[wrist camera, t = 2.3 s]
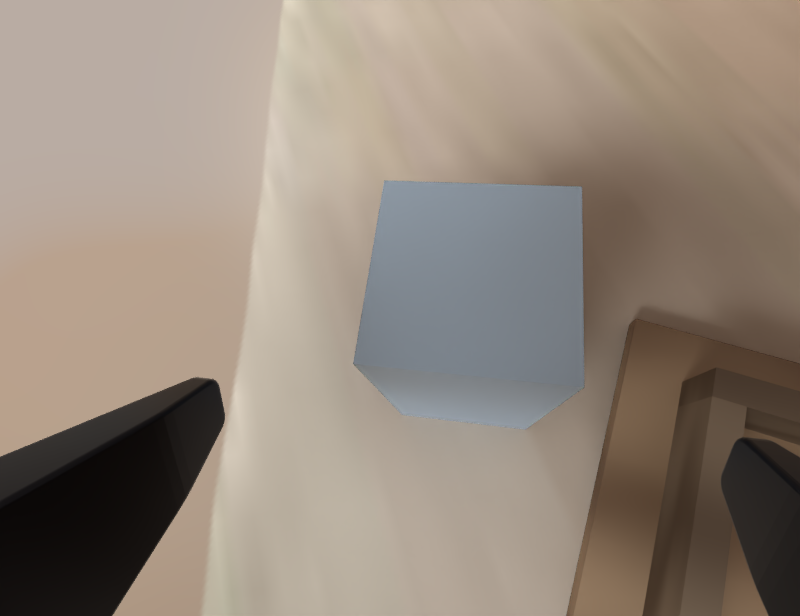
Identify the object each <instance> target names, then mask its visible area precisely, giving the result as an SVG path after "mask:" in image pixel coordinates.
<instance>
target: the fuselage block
mask: <svg viewBox="0 0 800 616" xmlns="http://www.w3.org/2000/svg"><path fill="white" fill-rule="evenodd" d="M353 364H354V365H355V366H356V367H357V368H358V369H359V370H360V371H361V372H362V374H363V375H364V376H365V377H366V378H367V379H368V380H369V381H370V382H371V383H372V384H373V385H374V386H375V387H376V388H377V389H378V390H379V391H380V392H381V393H382V394H383V395H384V397H385V398H386V399H387V400H388V401H389V402H390V403H391V404H392V405H393V406H394V407H395V408H396V409H397V410H398V411H399V412H400V413H401V414H402V415H408V416H416V417H425V418H433V419H442V420H450V421H458V422H467V423H475V424H484V425H492V426H500V427H509V428H517V429H527V428H528V427H530V426H531V425H532V424H534V423H535V422H537V421H538V420H539V419H541V418H542V417H544V416H545V415H546V414H548V413H549V412H551V411H552V410H553V409H555V408H556V407H558V406H559V405H560V404H562V403H563V402H565V401H566V400H567V399H569V398H570V397H572V396H573V395H574V394H576V393H577V392H579V391H580V390H581V389H583V388H584V315H583V230H582V187H579V186H546V185H513V184H480V183H447V182H414V181H384V186H383V192H382V198H381V203H380V209H379V215H378V221H377V227H376V233H375V239H374V245H373V251H372V257H371V263H370V268H369V274H368V280H367V286H366V292H365V298H364V304H363V310H362V316H361V322H360V327H359V333H358V339H357V345H356V351H355V357H354V363H353Z"/></svg>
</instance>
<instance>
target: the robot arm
mask: <svg viewBox="0 0 800 616" xmlns="http://www.w3.org/2000/svg"><path fill="white" fill-rule="evenodd" d="M224 420H225V412H224V407H223V402H222V398H221V393H220V388H219V385H218V383H217V382H216V381H215V380H214V379H208V378H199V377H196V378H191V379H189V380H187V381H184V382H182V383H179V384H177V385H174V386H172V387H169V388H167V389H165V390H162V391H160V392H157V393H155V394H153V395H150V396H148V397H145V398H142V399H140V400H138V401H135V402H133V403H130V404H128V405H125V406H123V407H121V408H118V409H116V410H113V411H111V412H109V413H106V414H104V415H101V416H98V417H96V418H94V419H91V420H89V421H86V422H84V423H81V424H79V425H77V426H74V427H72V428H70V429H67V430H64V431H62V432H60V433H57V434H55V435H52V436H50V437H47V438H45V439H42V440H40V441H38V442H35V443H33V444H30V445H28V446H25V447H23V448H20V449H18V450H16V451H13V452H11V453H8V454H6V455H3V456H1V457H0V616H112V615H113V614H114V612H115V611H116V609H117V607H118V606H119V604H120V603H121V601H122V600H123V598H124V597H125V595H126V593H127V592H128V590H129V589H130V587H131V585H132V584H133V582H134V581H135V579H136V578H137V576H138V574H139V573H140V571H141V570H142V568H143V566H144V565H145V563H146V562H147V560H148V558H149V557H150V555H151V554H152V552H153V551H154V549H155V547H156V546H157V544H158V543H159V541H160V540H161V538H162V536H163V535H164V533H165V532H166V530H167V528H168V527H169V525H170V524H171V522H172V521H173V519H174V517H175V516H176V514H177V513H178V511H179V509H180V508H181V506H182V504H183V503H184V501H185V499H186V498H187V496H188V494H189V492H190V490H191V489H192V487H193V485H194V483H195V481H196V479H197V477H198V475H199V473H200V471H201V469H202V467H203V465H204V463H205V461H206V459H207V457H208V455H209V453H210V451H211V449H212V447H213V445H214V443H215V441H216V439H217V437H218V435H219V433H220V431H221V429H222V427H223V424H224ZM721 489H722V493H723V496H724V499H725V501H726V504H727V507H728V510H729V513H730V516H731V519H732V522H733V525H734V527H735V530H736V533H737V536H738V539H739V542H740V545H741V548H742V550H743V553H744V556H745V559H746V562H747V565H748V568H749V571H750V573H751V576H752V579H753V581H754V584H755V586H756V589H757V591H758V593H759V596H760V598H761V600H762V603H763V605H764V607H765V609H766V611H767V614H768V616H800V457H799V456H797V455H795V454H794V453H792V452H790V451H789V450H787V449H785V448H784V447H782V446H780V445H778V444H777V443H775V442H773V441H771V440H767V439H759V438H750V437H742V438H739V439H737V440H736V441H735V443H734V445H733V447H732V450H731V452H730V455H729V457H728V459H727V462H726V464H725V467H724V469H723V472H722V475H721Z"/></svg>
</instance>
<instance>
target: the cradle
mask: <svg viewBox="0 0 800 616" xmlns="http://www.w3.org/2000/svg"><path fill="white" fill-rule="evenodd" d="M742 437H750V438H759V439H767V440H771V441H773V442H775V443H777V444H778V445H780V446H782V447H784V448H785V449H787V450H789V451H790V452H792V453H794V454H795V455H797V456H799V457H800V364H799V363H795V362H791V361H788V360H784V359H781V358H777V357H773V356H770V355H766V354H762V353H759V352H755V351H752V350H748V349H744V348H741V347H737V346H733V345H730V344H726V343H722V342H719V341H715V340H712V339H708V338H704V337H701V336H697V335H693V334H690V333H686V332H682V331H679V330H675V329H672V328H668V327H664V326H661V325H657V324H653V323H650V322H646V321H643V320H639V319H636V320H635V321H634V322H632V323H631V324H630V325H629V329H628V334H627V339H626V343H625V348H624V352H623V357H622V362H621V366H620V371H619V376H618V380H617V385H616V389H615V394H614V399H613V403H612V408H611V412H610V417H609V422H608V426H607V431H606V436H605V440H604V445H603V449H602V454H601V459H600V463H599V468H598V472H597V477H596V482H595V486H594V491H593V496H592V500H591V505H590V509H589V514H588V519H587V523H586V528H585V533H584V537H583V542H582V546H581V551H580V556H579V560H578V565H577V569H576V574H575V579H574V583H573V588H572V593H571V597H570V602H569V606H568V611H567V616H768V614H767V611H766V609H765V607H764V605H763V603H762V600H761V598H760V596H759V593H758V591H757V589H756V586H755V584H754V581H753V579H752V576H751V573H750V571H749V568H748V565H747V562H746V559H745V556H744V553H743V550H742V548H741V545H740V542H739V539H738V536H737V533H736V530H735V527H734V525H733V522H732V519H731V516H730V513H729V510H728V507H727V504H726V501H725V499H724V496H723V493H722V489H721V475H722V472H723V469H724V467H725V464H726V462H727V459H728V457H729V455H730V452H731V450H732V447H733V445H734V443H735V441H736V440H737V439H739V438H742Z"/></svg>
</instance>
